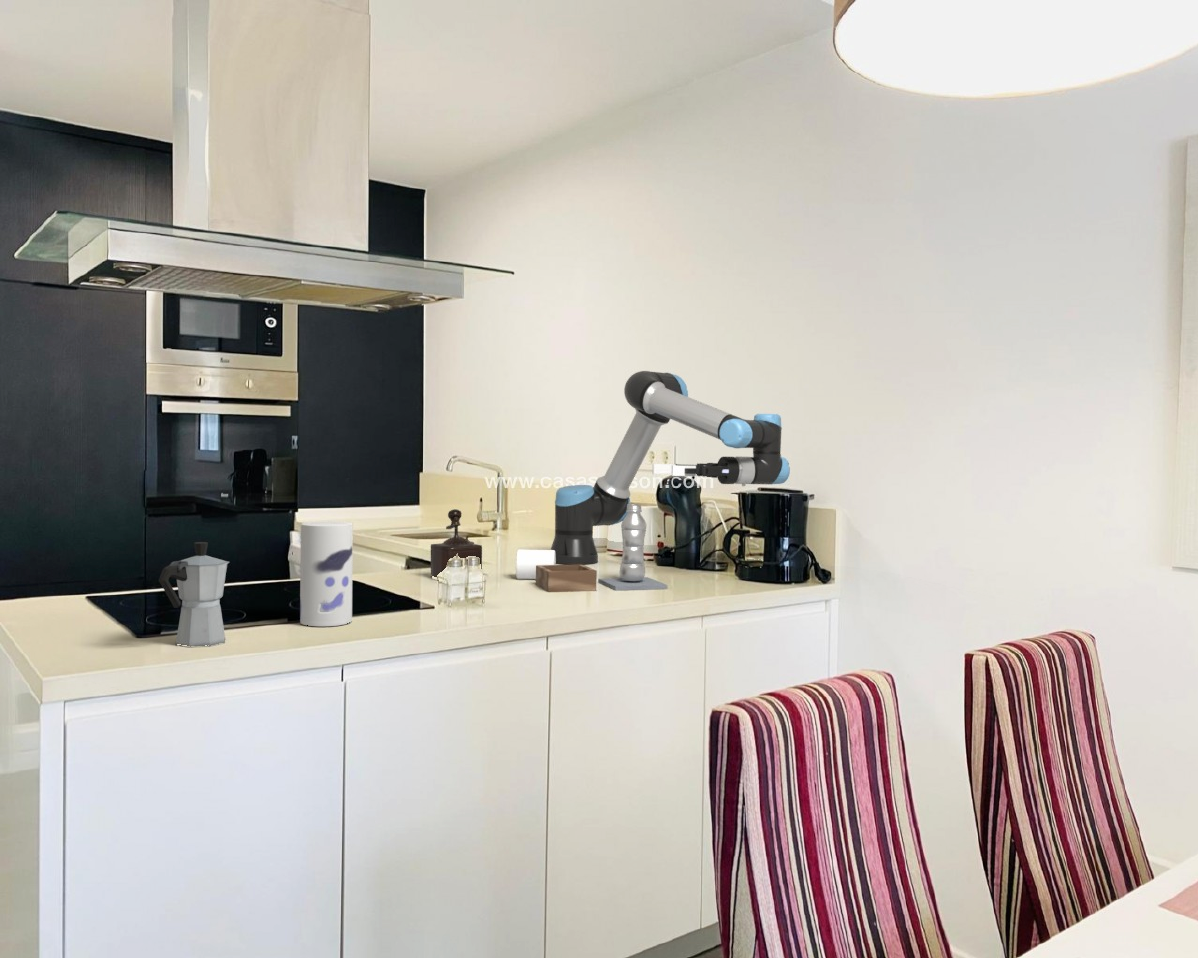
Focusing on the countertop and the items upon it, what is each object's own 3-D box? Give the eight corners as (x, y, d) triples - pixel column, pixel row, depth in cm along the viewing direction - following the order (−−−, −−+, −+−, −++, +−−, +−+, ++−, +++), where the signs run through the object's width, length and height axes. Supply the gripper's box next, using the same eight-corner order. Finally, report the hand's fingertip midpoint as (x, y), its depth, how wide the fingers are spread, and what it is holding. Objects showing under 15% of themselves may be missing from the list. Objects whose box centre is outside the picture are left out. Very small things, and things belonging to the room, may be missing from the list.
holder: (535, 584, 250) (536, 565, 250) (581, 583, 254) (582, 564, 253) (548, 592, 238) (548, 571, 238) (596, 590, 242) (596, 570, 242)
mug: (553, 581, 256) (553, 551, 256) (515, 581, 256) (516, 551, 256) (556, 575, 268) (556, 546, 268) (520, 574, 268) (520, 546, 268)
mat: (598, 582, 256) (598, 578, 256) (647, 580, 260) (647, 577, 260) (615, 590, 243) (615, 586, 243) (667, 588, 247) (667, 584, 247)
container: (324, 629, 187) (325, 526, 186) (289, 623, 192) (289, 522, 192) (362, 621, 196) (363, 522, 195) (327, 616, 201) (328, 519, 200)
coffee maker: (211, 633, 181) (211, 537, 180) (246, 638, 177) (246, 540, 177) (142, 648, 168) (142, 544, 167) (178, 654, 164) (178, 548, 163)
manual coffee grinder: (485, 580, 256) (486, 512, 255) (447, 583, 249) (448, 513, 249) (457, 573, 268) (458, 508, 268) (420, 576, 262) (421, 509, 261)
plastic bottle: (615, 580, 253) (616, 504, 252) (638, 579, 256) (640, 503, 255) (625, 583, 247) (627, 505, 246) (649, 582, 250) (651, 505, 249)
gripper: (755, 486, 253) (680, 486, 246) (714, 482, 277) (645, 481, 270) (756, 457, 253) (681, 456, 246) (715, 455, 276) (645, 454, 270)
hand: (662, 469), depth 258 cm, fingers open, 13 cm apart
